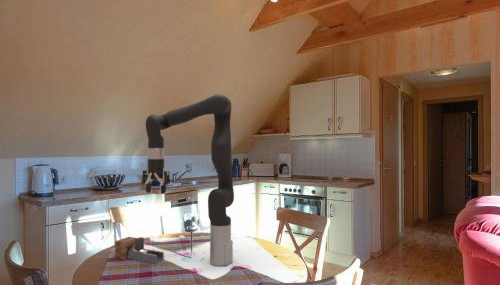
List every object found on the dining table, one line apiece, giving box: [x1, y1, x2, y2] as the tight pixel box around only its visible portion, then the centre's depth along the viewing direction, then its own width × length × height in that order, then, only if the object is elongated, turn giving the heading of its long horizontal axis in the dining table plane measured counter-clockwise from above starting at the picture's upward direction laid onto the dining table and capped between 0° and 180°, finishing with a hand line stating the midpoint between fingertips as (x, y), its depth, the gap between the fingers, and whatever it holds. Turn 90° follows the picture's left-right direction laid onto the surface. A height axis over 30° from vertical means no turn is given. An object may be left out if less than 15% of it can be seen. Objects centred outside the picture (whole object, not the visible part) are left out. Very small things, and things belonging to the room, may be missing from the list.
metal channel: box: [127, 248, 165, 265], centre depth 149 cm, size 16×6×4 cm, turn 66°
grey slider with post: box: [127, 236, 148, 254], centre depth 152 cm, size 13×3×8 cm, turn 66°
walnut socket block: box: [114, 236, 137, 260], centre depth 154 cm, size 5×8×8 cm, turn 156°
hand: (155, 192), depth 151 cm, fingers open, 8 cm apart
